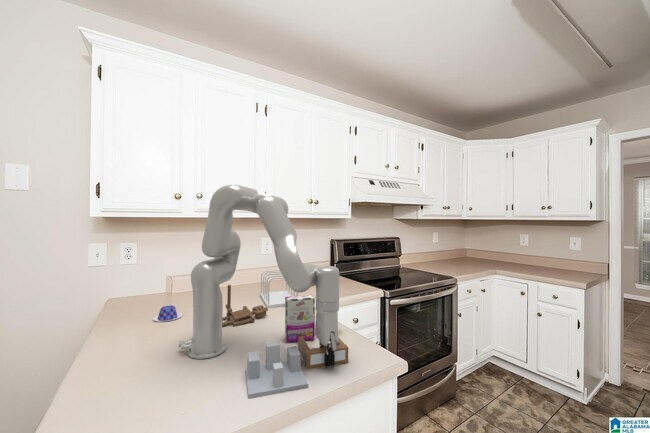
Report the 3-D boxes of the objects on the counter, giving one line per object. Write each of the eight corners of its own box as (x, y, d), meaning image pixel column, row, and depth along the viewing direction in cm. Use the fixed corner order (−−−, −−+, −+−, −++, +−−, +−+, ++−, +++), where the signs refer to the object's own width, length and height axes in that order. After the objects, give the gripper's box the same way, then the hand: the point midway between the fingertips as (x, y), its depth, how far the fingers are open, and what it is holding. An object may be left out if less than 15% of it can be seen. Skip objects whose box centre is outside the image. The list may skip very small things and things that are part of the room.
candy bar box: (312, 335, 113) (312, 294, 114) (314, 340, 109) (315, 297, 109) (284, 338, 110) (284, 296, 111) (285, 343, 106) (286, 299, 106)
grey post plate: (248, 398, 73) (248, 367, 73) (245, 370, 86) (245, 344, 86) (308, 387, 78) (308, 358, 78) (296, 362, 91) (297, 338, 91)
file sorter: (259, 296, 170) (259, 270, 171) (287, 293, 177) (288, 268, 177) (267, 308, 147) (267, 278, 147) (299, 305, 154) (299, 276, 154)
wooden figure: (209, 286, 122) (262, 275, 137) (209, 322, 127) (261, 307, 142) (219, 302, 111) (276, 288, 126) (219, 341, 116) (274, 322, 131)
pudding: (175, 322, 126) (175, 311, 126) (147, 323, 125) (147, 311, 125) (186, 313, 138) (186, 303, 138) (161, 314, 137) (161, 303, 137)
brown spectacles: (306, 369, 87) (307, 353, 87) (297, 351, 99) (297, 337, 99) (348, 363, 92) (348, 347, 92) (334, 346, 104) (334, 332, 104)
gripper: (309, 298, 98) (308, 351, 98) (324, 314, 82) (323, 377, 82) (329, 297, 100) (328, 348, 100) (348, 312, 84) (347, 373, 84)
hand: (326, 361), depth 91 cm, fingers open, 4 cm apart
